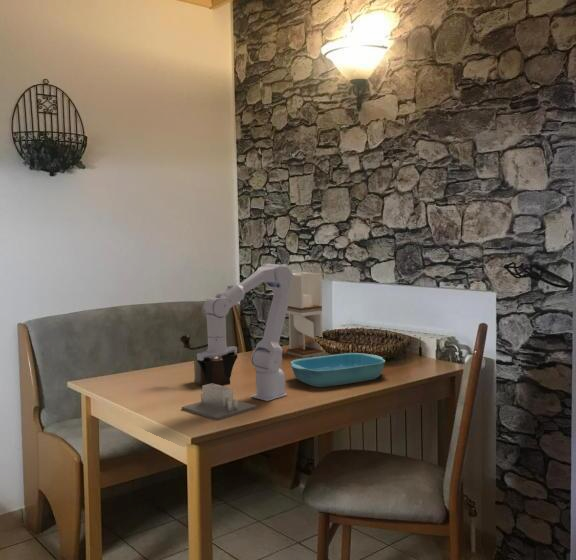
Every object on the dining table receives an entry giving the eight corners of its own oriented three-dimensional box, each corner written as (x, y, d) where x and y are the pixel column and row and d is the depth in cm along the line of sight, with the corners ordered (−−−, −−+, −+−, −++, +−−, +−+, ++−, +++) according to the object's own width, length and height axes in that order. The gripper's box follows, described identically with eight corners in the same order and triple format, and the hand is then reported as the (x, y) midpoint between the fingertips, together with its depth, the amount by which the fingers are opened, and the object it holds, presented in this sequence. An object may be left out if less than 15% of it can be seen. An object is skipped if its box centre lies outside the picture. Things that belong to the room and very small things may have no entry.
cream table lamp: (287, 353, 280) (285, 273, 277) (307, 350, 286) (305, 272, 283) (302, 358, 271) (301, 275, 267) (322, 354, 277) (321, 273, 273)
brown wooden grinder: (220, 377, 240) (218, 330, 238) (231, 384, 230) (229, 334, 228) (179, 383, 233) (178, 334, 231) (189, 390, 223) (187, 339, 221)
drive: (212, 401, 205) (212, 383, 204) (233, 407, 198) (232, 388, 197) (202, 404, 202) (202, 385, 201) (223, 410, 195) (222, 391, 195)
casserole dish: (361, 367, 253) (361, 349, 252) (397, 378, 233) (397, 359, 233) (279, 379, 235) (279, 360, 235) (310, 393, 216) (310, 372, 215)
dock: (221, 398, 211) (220, 387, 211) (256, 408, 199) (256, 396, 199) (181, 409, 200) (181, 397, 199) (217, 420, 188) (216, 407, 188)
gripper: (226, 331, 205) (227, 373, 207) (190, 338, 195) (191, 381, 196) (241, 333, 201) (242, 376, 202) (204, 340, 190) (206, 385, 191)
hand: (218, 379), depth 199 cm, fingers open, 7 cm apart
